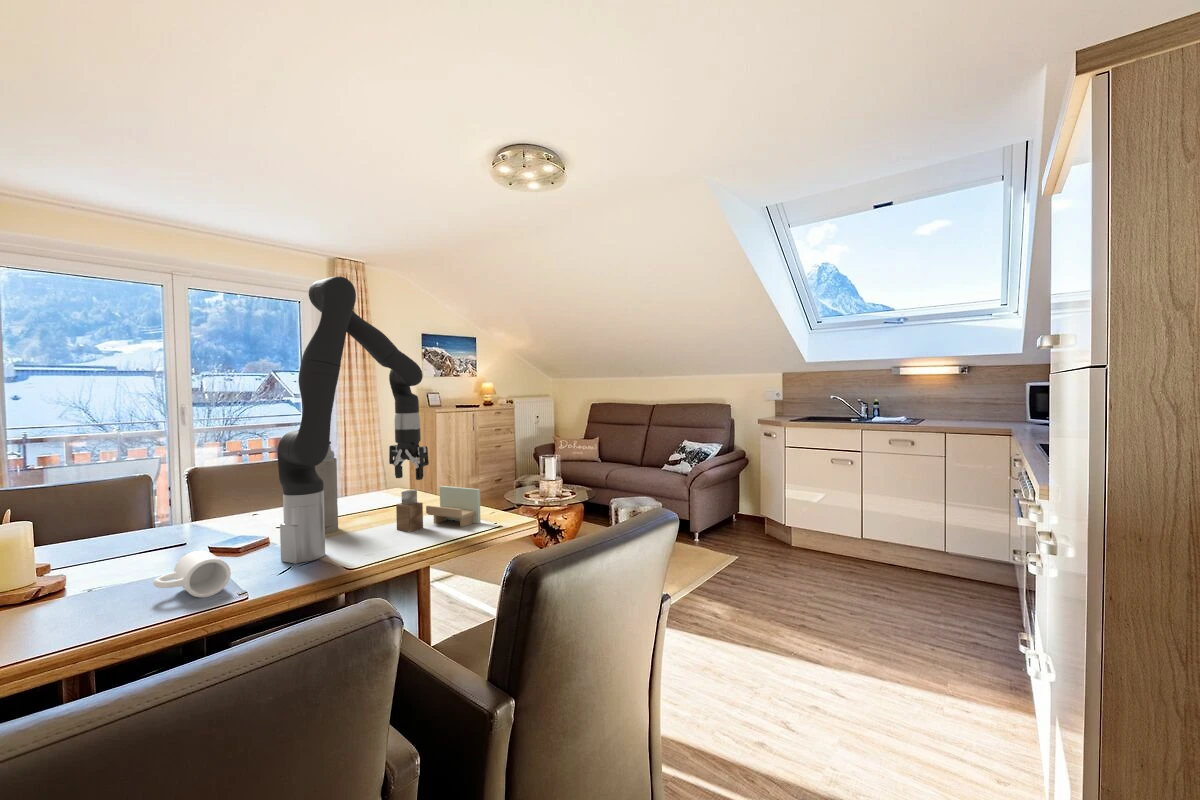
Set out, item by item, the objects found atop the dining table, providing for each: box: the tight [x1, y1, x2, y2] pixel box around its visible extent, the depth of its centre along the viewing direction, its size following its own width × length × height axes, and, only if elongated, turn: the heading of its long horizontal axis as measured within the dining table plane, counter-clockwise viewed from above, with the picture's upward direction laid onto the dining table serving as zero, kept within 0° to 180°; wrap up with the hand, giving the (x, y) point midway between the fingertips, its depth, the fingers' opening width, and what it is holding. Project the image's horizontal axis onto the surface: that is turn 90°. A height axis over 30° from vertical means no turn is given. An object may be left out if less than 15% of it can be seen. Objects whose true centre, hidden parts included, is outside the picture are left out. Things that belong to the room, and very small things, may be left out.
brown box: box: [395, 489, 424, 533], centre depth 161 cm, size 5×6×12 cm
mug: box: [153, 550, 232, 598], centre depth 111 cm, size 12×10×8 cm
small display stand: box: [425, 485, 481, 527], centre depth 167 cm, size 9×16×11 cm, turn 65°
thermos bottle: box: [315, 441, 339, 534], centre depth 161 cm, size 8×8×28 cm
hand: (409, 478), depth 161 cm, fingers open, 8 cm apart
